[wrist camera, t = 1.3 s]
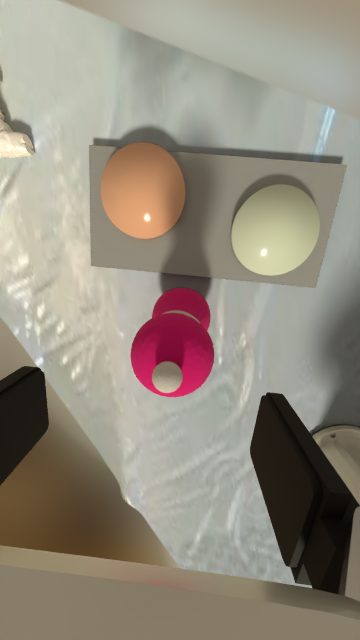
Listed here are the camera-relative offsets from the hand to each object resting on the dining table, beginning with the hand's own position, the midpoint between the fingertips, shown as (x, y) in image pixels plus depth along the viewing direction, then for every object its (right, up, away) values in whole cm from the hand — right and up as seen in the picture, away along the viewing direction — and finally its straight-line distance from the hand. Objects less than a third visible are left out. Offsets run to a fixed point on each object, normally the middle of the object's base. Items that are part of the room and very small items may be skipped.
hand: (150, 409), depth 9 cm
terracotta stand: (-3, +19, +17) cm, 26 cm away
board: (+5, +17, +19) cm, 25 cm away
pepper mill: (+2, +5, +22) cm, 23 cm away
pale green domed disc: (+13, +15, +17) cm, 26 cm away
